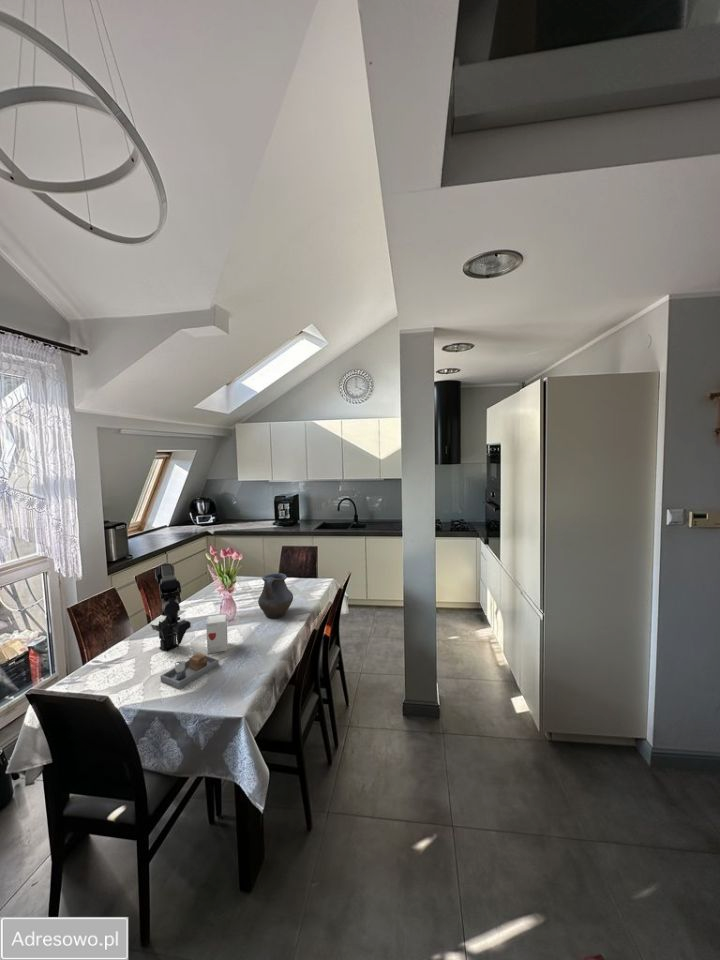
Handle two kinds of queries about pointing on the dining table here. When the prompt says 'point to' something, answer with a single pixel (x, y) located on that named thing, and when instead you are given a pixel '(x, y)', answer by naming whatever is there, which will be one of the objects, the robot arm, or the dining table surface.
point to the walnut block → (198, 661)
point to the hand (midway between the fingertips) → (172, 641)
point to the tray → (188, 674)
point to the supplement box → (216, 633)
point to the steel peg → (180, 670)
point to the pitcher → (275, 596)
